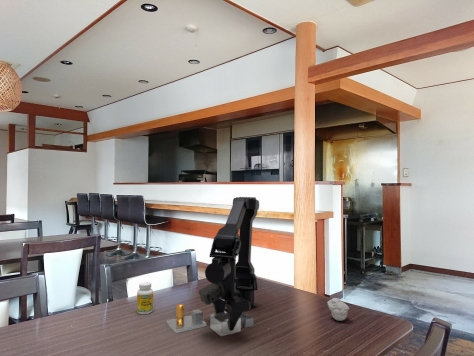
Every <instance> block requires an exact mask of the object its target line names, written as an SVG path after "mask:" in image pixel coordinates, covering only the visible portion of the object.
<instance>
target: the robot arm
mask: <svg viewBox="0 0 474 356" xmlns="http://www.w3.org/2000/svg"><path fill="white" fill-rule="evenodd" d="M259 209H260V201H259V199H257V198H256V197H255V196H254V197H253V196H252V197H251V196H240V197H239V196H238V197H237V196H236V197H234V198H233V199H232V205H231V208H230V211H229V213H228V216H227V220H226V221H225V224H224V225H223V226H222V227H221V228H219V229H218V230H217V233H216V234H215V236H214V237H213V241H212V244H211V248H210V251H209V258H211V263H209V264H208V265H207V266H206V268H205V270H204V276H205V278H206V280H207V281H208V282H209V283H210V284H208V285H206V286H204V287H202V288H200V289H199V290H198V291H197V292H198V295H199V299H200V301H201V303H202V302H203V303H204V304H205V305H206V306H207V305H211V304H212V306H213V309H214V312H215V313H214V314H216V313H221V312H225V311H226V312H227V313H228V321H229V330H230V331H233V330H234V328H235V326H236V324H237V321H238V320H239V318H240V316H241V315H242V314H244V313H243V312H247V311H248V312H249V311H251V309H252V308H256V307H257V304H255V291H258V290H259V285H258V284H259V282H258V278H257V275H256V274H255V272H256V271H255V270H256V269H255V267H254V265H253V263H252V262H251V261H252V260H251V259H252V242H253V239H252V238H253V221H254V220H255V219H256V217H257V216H258V210H259ZM236 258H237V260H236Z"/></svg>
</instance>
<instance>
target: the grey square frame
mask: <svg viewBox="0 0 474 356" xmlns="http://www.w3.org/2000/svg"><path fill="white" fill-rule="evenodd" d="M209 315H210V319H209V320H210V322H209V324H210V325H209V326H210V329H211V330H212V331H213V332H215V333H216V334H217V335H218V336H220V337H224V336H225V337H226V336H227V335H233V334H236V333H240V332H241V331H242V330H241V329H242V327H241V318H239V320H238V321H237V324H236V326H235V328H234V330H233V331H230V330H229V321H228V313H227V312H226V311H225V310H224V312H221V313H211V314H209Z"/></svg>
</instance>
